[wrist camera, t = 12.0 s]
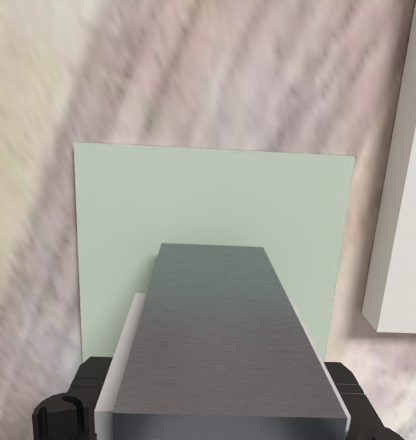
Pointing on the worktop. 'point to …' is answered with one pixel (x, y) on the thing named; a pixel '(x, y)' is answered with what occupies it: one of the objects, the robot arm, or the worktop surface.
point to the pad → (204, 223)
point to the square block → (222, 355)
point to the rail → (397, 219)
